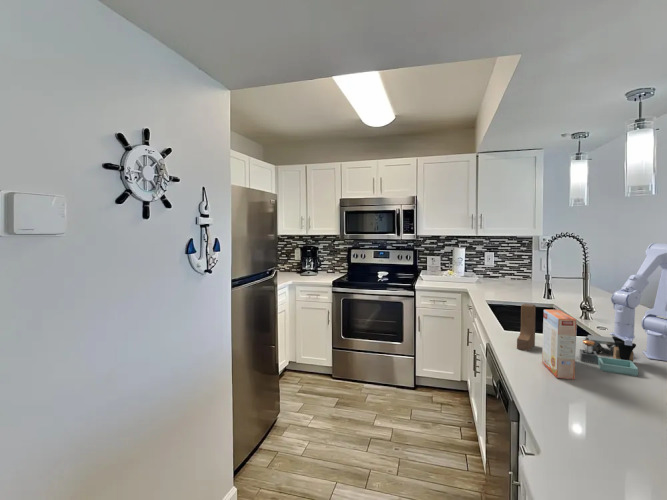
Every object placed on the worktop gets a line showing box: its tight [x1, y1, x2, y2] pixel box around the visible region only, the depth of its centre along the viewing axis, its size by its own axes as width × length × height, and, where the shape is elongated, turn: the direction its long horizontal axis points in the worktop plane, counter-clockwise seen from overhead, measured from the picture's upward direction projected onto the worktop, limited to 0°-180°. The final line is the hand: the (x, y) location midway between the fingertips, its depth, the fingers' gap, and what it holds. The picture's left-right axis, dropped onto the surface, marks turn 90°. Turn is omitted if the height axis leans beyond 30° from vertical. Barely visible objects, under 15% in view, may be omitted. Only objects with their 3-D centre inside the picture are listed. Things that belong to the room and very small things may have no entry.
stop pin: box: [582, 339, 595, 354], centre depth 134 cm, size 4×4×7 cm
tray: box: [597, 356, 639, 377], centre depth 125 cm, size 10×8×2 cm
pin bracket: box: [578, 348, 599, 364], centre depth 134 cm, size 5×5×3 cm
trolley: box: [584, 334, 616, 356], centre depth 142 cm, size 11×11×5 cm
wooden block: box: [516, 303, 536, 352], centre depth 148 cm, size 9×4×18 cm, turn 134°
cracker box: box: [541, 309, 578, 380], centre depth 124 cm, size 14×6×21 cm, turn 167°
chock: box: [612, 347, 634, 363], centre depth 131 cm, size 5×4×5 cm
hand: (623, 358), depth 131 cm, fingers closed on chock, 4 cm apart
